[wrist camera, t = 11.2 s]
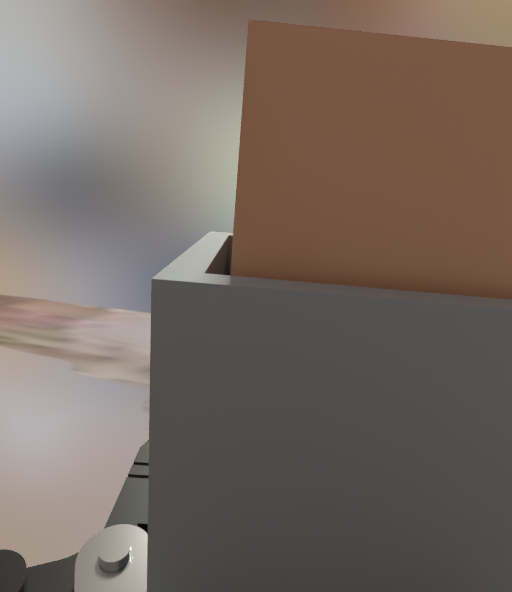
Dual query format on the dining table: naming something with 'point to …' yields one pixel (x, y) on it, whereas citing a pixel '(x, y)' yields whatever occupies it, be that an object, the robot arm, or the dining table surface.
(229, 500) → the grey open box
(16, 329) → the dining table surface
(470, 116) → the block
